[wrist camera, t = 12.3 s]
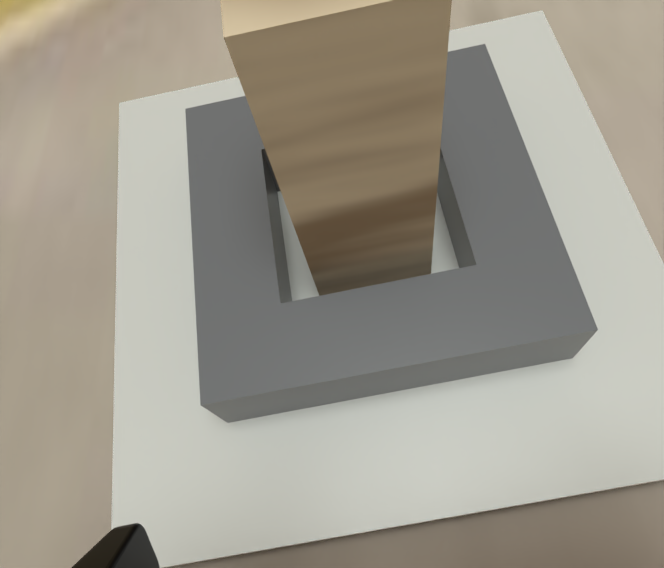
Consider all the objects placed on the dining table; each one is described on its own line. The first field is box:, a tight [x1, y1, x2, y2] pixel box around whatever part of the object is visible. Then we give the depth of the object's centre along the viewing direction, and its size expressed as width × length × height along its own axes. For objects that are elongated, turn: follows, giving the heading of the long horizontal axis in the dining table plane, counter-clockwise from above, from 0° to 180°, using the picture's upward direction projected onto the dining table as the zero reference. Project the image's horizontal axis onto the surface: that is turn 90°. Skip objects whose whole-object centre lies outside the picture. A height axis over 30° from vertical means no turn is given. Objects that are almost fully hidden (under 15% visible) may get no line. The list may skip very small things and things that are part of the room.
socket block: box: [111, 10, 664, 568], centre depth 22 cm, size 22×22×4 cm
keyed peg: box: [220, 0, 452, 296], centre depth 18 cm, size 6×4×13 cm
